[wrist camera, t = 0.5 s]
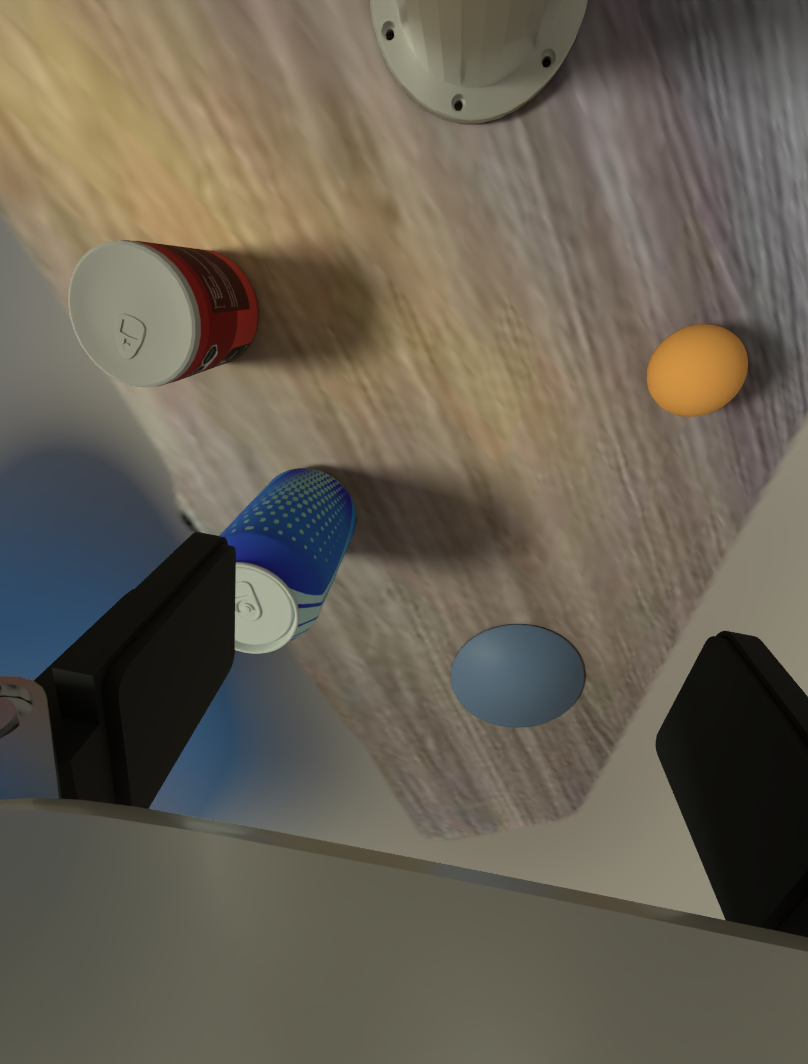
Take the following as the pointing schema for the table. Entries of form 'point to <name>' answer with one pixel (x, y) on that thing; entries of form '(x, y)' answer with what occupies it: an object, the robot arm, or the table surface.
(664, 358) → the ball
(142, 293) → the canned food
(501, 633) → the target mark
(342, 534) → the beer can
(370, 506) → the table surface
